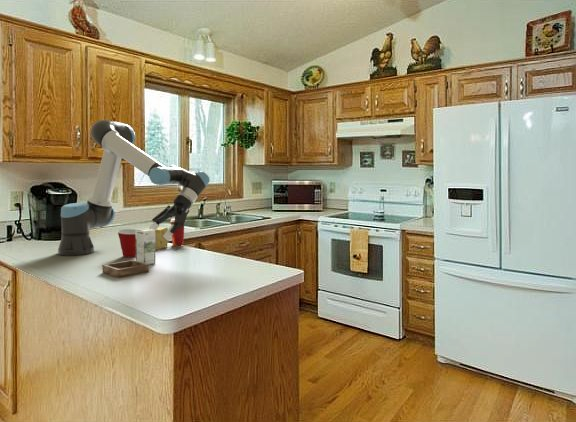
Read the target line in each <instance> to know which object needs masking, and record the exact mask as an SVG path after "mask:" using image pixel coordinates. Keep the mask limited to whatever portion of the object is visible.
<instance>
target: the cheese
mask: <svg viewBox="0 0 576 422" xmlns="http://www.w3.org/2000/svg"><path fill="white" fill-rule="evenodd" d="M149 228H150V227H147V228H145V229H149ZM142 229H143V228H141V229H140V230H142ZM168 229H169V228H168V227H158V228H157V229H156V230H155V250H160V249H163V248H166V247H168V244H169V243H168V242H169V240H166V239H165V238H164V237H163V236H164V234H165V233H166V232H167V230H168Z"/></svg>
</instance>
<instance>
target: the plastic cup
mask: <svg viewBox="0 0 576 422" xmlns="http://www.w3.org/2000/svg"><path fill="white" fill-rule="evenodd" d="M136 230H137V229H134V228H124V229H122V228H121V229H118V230H116V232H117V234H118V238H119V244H120V249H121V251H122V252H121V253H122V257H124V258H136V237H135V231H136Z"/></svg>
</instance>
